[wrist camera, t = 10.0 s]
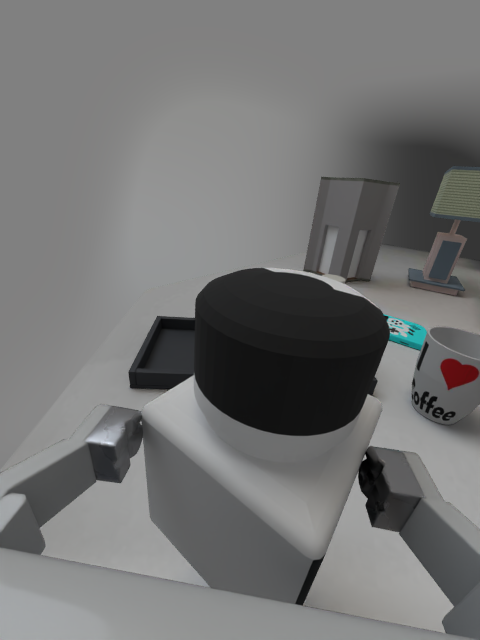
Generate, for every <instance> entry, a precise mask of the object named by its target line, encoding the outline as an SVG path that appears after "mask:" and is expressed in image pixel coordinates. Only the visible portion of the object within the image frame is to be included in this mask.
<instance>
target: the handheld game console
mask: <svg viewBox="0 0 480 640" xmlns="http://www.w3.org/2000/svg"><path fill="white" fill-rule="evenodd" d="M383 315H384V314H383ZM384 317H385V319H386V321H387V323H388V325H389V329H390V337H389V340H390V341H394V342H397V343H400V344H403V345H406V346H409V347H412V348H415V349H418V350H421V348H422V345H423V342H424V339H425V337H426V334H427V331H426V330H425V328H424V327H422V326H420V325H418V324H415V323H412V322H408V321H405V320H401V319H398V318H394V317H391V316H387V315H384Z"/></svg>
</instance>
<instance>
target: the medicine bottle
mask: <svg viewBox="0 0 480 640" xmlns="http://www.w3.org/2000/svg"><path fill="white" fill-rule="evenodd" d="M389 337H390V329H389V325H388V323H387V321H386V319H385V317H384V315H383V313H382V311H381V310H380V309H379V308H378V307H377V305H375V304H374V303H373V302H372V301H370V300H369V299H368V298H366V297H365V296H363V295H362V294H360V293H359V292H358V291H356V290H354V289H353V288H351V287H349V286H347V285H345V284H343V283H341V282H338V281H336V280H333V279H330V278H327V277H324V276H320V275H316V274H312V273H307V272H302V271H296V270H289V269H278V268H253V269H245V270H240V271H237V272H233V273H230V274H227V275H224V276H221V277H218V278H216V279H214V280H212V281H211V282H209V283H208V284H207V285H206V286H205V288H204V289H203V290H202V291H201V292H200V293H199V294H198V296H197V298H196V305H195V347H194V375H193V376H192V377H190V378H188V379H187V380H185V381H183V382H182V383H180V384H179V385H177V386H175V387H174V388H172V389H170V390H169V391H167V392H166V393H164V394H162V395H161V396H159V397H157V398H156V399H154V400H153V401H151V402H149V403H148V404H146V405H145V406H144V407H143V409H142V413H141V414H142V419H141V421H142V427H143V444H144V455H145V466H146V477H147V489H148V500H149V511H150V518H151V520H152V521H153V522H154V524H155V525H156V526H157V527H158V528H159V529H160V530H161V531H162V533H163V534H164V535H165V536H166V537H167V538H168V539H169V541H170V542H171V543H172V544H173V545H174V546H175V547H176V548H177V550H178V551H179V552H180V553H181V554H182V555H183V556H184V558H185V559H186V560H187V561H188V562H189V563H190V564H191V566H192V567H193V568H194V569H195V570H196V571H197V572H198V573H199V575H200V576H201V577H202V578H203V579H204V580H205V581H206V583H207V584H208V585H209V586H210V587H211V588H214V589H219V590H224V591H230V592H235V593H240V594H245V595H250V596H255V597H261V598H266V599H271V600H276V601H281V602H286V603H292V604H297V605H302V606H303V603H304V601H305V599H306V597H307V594H308V592H309V590H310V588H311V585H312V583H313V581H314V579H315V576H316V574H317V572H318V570H319V567H320V565H321V563H322V561H323V558H324V556H325V554H326V551H327V549H328V546H329V544H330V541H331V539H332V536H333V534H334V531H335V528H336V526H337V523H338V521H339V518H340V516H341V513H342V511H343V508H344V506H345V503H346V501H347V498H348V496H349V493H350V490H351V488H352V485H353V483H354V480H355V478H356V475H357V473H358V470H359V468H360V465H361V463H362V460H363V457H364V455H365V452H366V450H367V447H368V445H369V442H370V440H371V437H372V435H373V432H374V430H375V427H376V425H377V422H378V419H379V417H380V414H381V412H382V403H381V402H380V401H379V400H378V399H377V398H375V397H373V396H371V395H369V394H368V392H369V389H370V387H371V384H372V382H373V379H374V376H375V374H376V371H377V369H378V366H379V363H380V361H381V358H382V356H383V353H384V350H385V348H386V345H387V343H388V340H389Z"/></svg>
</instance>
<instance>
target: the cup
mask: <svg viewBox="0 0 480 640" xmlns="http://www.w3.org/2000/svg"><path fill="white" fill-rule="evenodd" d="M479 404H480V335H479V334H476V333H473V332H469V331H466V330H462V329H458V328H452V327H444V326H436V327H431V328H429V329H428V331H427V334H426V337H425V339H424V342H423V345H422V348H421V351H420V353H419V356H418V359H417V363H416V368H415V372H414V377H413V382H412V405H413V406H414V408H415V409H416V410H417V411H418V412H419V413H420V414H422V415H423V416H425V417H426V418H428V419H430V420H432V421H434V422H437V423H440V424H446V425H451V424H454V423H456V422H457V421H459V420H460V419H462V418H463V417H465V416H466V415H468V414H469V413H471V412H472V411H473V410H474V409H475V408H476V407H477V406H478V405H479Z"/></svg>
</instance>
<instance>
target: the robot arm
mask: <svg viewBox="0 0 480 640" xmlns="http://www.w3.org/2000/svg"><path fill="white" fill-rule="evenodd" d="M141 419H142V414H141V411H139V410H133V409H128V408H123V407H117V406H111V405H105V404H99V405H97V406H96V407H95V408H94V409H93V410H92V412H91V413H90V414H89V415H88V416H87V418H86V419H85V420H84V421H83V422H82V424H81V425H80V426H79V427H78V428H77V430H76V431H75V432H74V433H73V434H72V436H71V437H70V438H69V439H63V440H61V441H59V442H58V443H56V444H54V445H52V446H50V447H48V448H46V449H44V450H43V451H41V452H39V453H37V454H35V455H33V456H31V457H29V458H27V459H26V460H24V461H22V462H20V463H18V464H16V465H14V466H12V467H11V468H9V469H7V470H5V471H3V472H1V473H0V640H480V529H479V528H478V527H477V526H475V525H474V524H473V523H472V522H471V521H470V520H469V519H468V518H466V517H465V516H464V515H463V514H462V513H461V512H460V511H459V510H457V509H456V508H455V507H454V506H453V505H452V504H451V503H449V502H445V501H444V500H443V498H442V496H441V494H440V492H439V491H438V489H437V487H436V485H435V483H434V482H433V480H432V478H431V476H430V474H429V473H428V471H427V469H426V467H425V465H424V464H423V462H422V460H421V458H420V457H419V455H418V454H416V453H413V452H406V451H399V450H394V449H387V448H380V447H373V446H370V447H368V448H367V450H366V452H365V454H366V457H367V459H366V460H364V461H362V463H361V465H360V468H359V474H358V478H359V484H360V488H361V491H362V493H363V494H364V495H365V496H366V497H367V498H368V500H367V502H366V509H367V512H368V515H369V519H370V522H371V525H372V527H375V528H380V529H385V530H390V531H395V532H400V533H399V534H400V536H401V537H402V538H403V540H404V541H405V542H406V544H407V545H408V546H409V548H410V549H411V550H412V552H413V553H414V554H415V556H416V557H417V558H418V559H419V561H420V562H421V563H422V565H423V566H424V567H425V569H426V570H427V571H428V573H429V574H430V575H431V577H432V578H433V579H434V580H435V582H436V583H437V584H438V586H439V587H440V588H441V590H442V591H443V592H444V594H445V595H446V596H447V598H448V599H449V600H450V602H451V603H452V604H453V605H454V608H453V609H452V610H451V611H450V612H449V613H448V614H447V615H446V616H445V617H444V618H443V620H442V624H443V626H444V629H445V632H446V633H442V632H436V631H431V630H426V629H421V628H416V627H411V626H405V625H400V624H395V623H390V622H385V621H380V620H374V619H369V618H364V617H359V616H354V615H349V614H343V613H338V612H333V611H328V610H323V609H317V608H312V607H307V606H302V605H297V604H292V603H286V602H281V601H276V600H271V599H266V598H261V597H255V596H250V595H245V594H240V593H235V592H230V591H224V590H219V589H214V588H209V587H204V586H199V585H193V584H188V583H183V582H178V581H173V580H167V579H162V578H157V577H152V576H147V575H142V574H136V573H131V572H126V571H121V570H116V569H110V568H105V567H100V566H95V565H90V564H84V563H79V562H74V561H69V560H64V559H58V558H53V557H48V556H43V555H41V553H42V551H43V550H44V548H45V540H44V538H43V535H42V533H41V531H40V527H41V526H42V525H44V524H45V523H46V522H47V521H49V520H50V519H51V518H52V517H54V516H55V515H56V514H57V513H58V512H60V511H61V510H62V509H63V508H65V507H66V506H67V505H68V504H69V503H71V502H72V501H73V500H74V499H76V498H77V497H78V496H79V495H81V494H82V493H83V492H84V491H85V490H87V489H88V488H89V487H90V486H92V485H93V484H94V483H95V482H96V480H100V481H108V482H115V483H121V482H122V480H123V478H124V477H125V475H126V473H127V471H128V469H129V467H130V458H131V457H133V456H134V455H136V454H137V452H138V450H139V448H140V445H141V442H142V438H143V427H142V425H141V424H140V421H141Z"/></svg>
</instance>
